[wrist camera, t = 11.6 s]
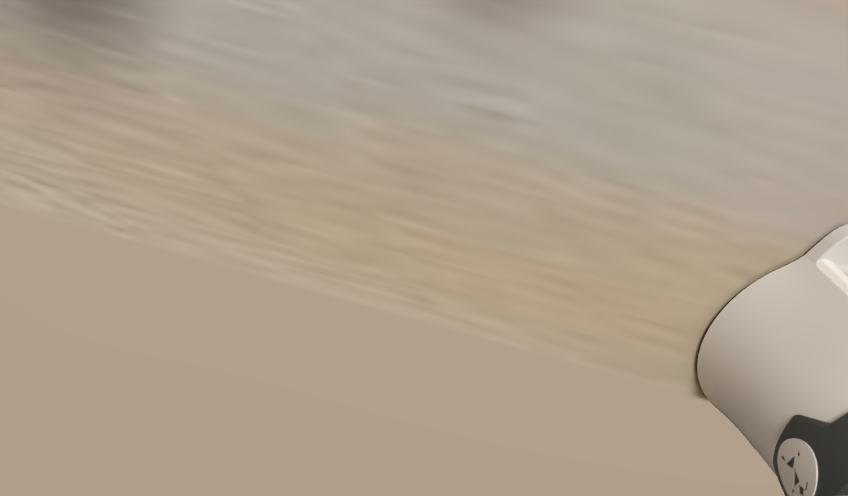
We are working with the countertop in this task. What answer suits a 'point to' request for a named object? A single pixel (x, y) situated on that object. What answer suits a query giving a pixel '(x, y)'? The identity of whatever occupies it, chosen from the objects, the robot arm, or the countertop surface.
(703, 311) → the countertop surface
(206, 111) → the countertop surface
